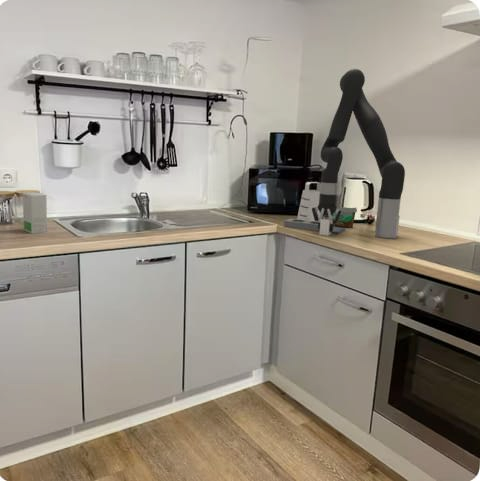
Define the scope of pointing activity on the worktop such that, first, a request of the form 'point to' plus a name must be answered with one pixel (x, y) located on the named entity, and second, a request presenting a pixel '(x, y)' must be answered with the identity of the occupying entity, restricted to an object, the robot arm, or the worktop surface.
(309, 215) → the grater
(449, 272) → the worktop surface
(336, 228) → the phone
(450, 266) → the worktop surface
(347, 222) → the food container
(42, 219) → the skincare box
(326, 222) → the block
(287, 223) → the power strip
